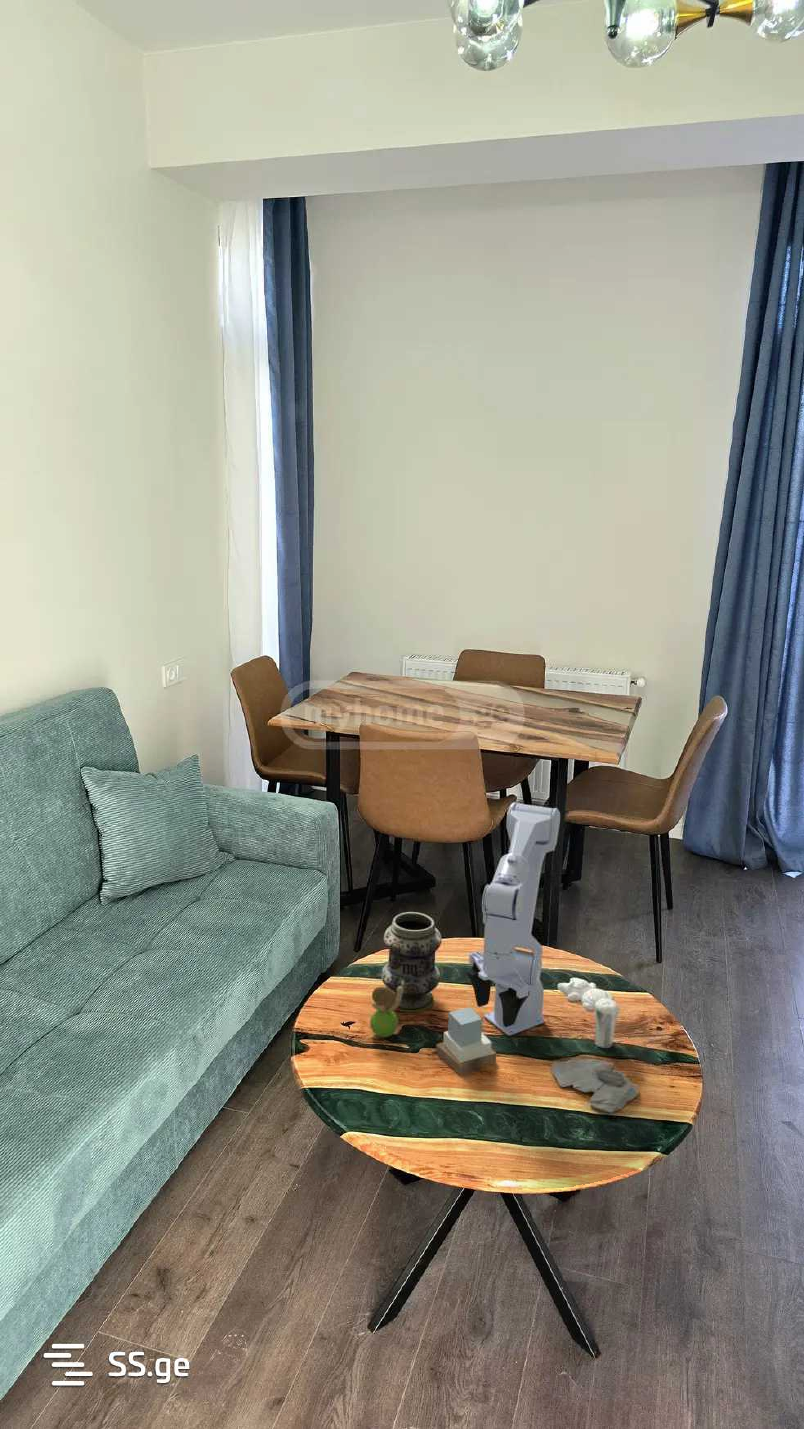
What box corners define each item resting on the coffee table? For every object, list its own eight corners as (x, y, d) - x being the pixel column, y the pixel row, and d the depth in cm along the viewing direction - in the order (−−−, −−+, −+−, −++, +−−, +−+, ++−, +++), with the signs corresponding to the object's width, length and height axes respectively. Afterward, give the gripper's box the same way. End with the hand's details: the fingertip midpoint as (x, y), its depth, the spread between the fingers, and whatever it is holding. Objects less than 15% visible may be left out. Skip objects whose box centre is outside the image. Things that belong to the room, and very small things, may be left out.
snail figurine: (399, 1045, 182) (401, 989, 179) (366, 1041, 183) (368, 985, 180) (405, 1029, 187) (407, 975, 184) (373, 1025, 188) (374, 970, 185)
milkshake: (584, 1037, 186) (588, 991, 183) (611, 1036, 186) (615, 991, 184) (591, 1051, 182) (595, 1004, 179) (618, 1050, 182) (622, 1003, 180)
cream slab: (473, 1035, 182) (473, 1024, 181) (490, 1054, 176) (491, 1042, 176) (443, 1044, 179) (443, 1032, 179) (460, 1063, 174) (460, 1051, 173)
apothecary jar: (451, 999, 198) (454, 920, 193) (413, 1023, 189) (415, 941, 184) (407, 978, 205) (409, 902, 201) (368, 1000, 197) (370, 921, 192)
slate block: (468, 1028, 180) (469, 1007, 179) (481, 1040, 176) (482, 1019, 175) (448, 1034, 178) (449, 1012, 177) (460, 1046, 174) (461, 1025, 173)
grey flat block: (469, 1043, 184) (470, 1031, 183) (495, 1064, 178) (496, 1053, 177) (435, 1056, 180) (436, 1044, 179) (461, 1078, 173) (461, 1066, 173)
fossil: (649, 1092, 169) (649, 1080, 169) (609, 1122, 163) (608, 1110, 162) (577, 1053, 182) (576, 1042, 181) (537, 1080, 175) (536, 1069, 175)
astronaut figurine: (580, 979, 208) (581, 967, 207) (621, 1005, 198) (622, 992, 197) (550, 990, 203) (551, 978, 202) (591, 1017, 193) (592, 1004, 193)
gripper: (457, 936, 174) (454, 1002, 178) (508, 970, 163) (504, 1041, 166) (487, 927, 178) (483, 992, 182) (539, 960, 167) (534, 1029, 170)
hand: (495, 1014), depth 174 cm, fingers open, 7 cm apart
